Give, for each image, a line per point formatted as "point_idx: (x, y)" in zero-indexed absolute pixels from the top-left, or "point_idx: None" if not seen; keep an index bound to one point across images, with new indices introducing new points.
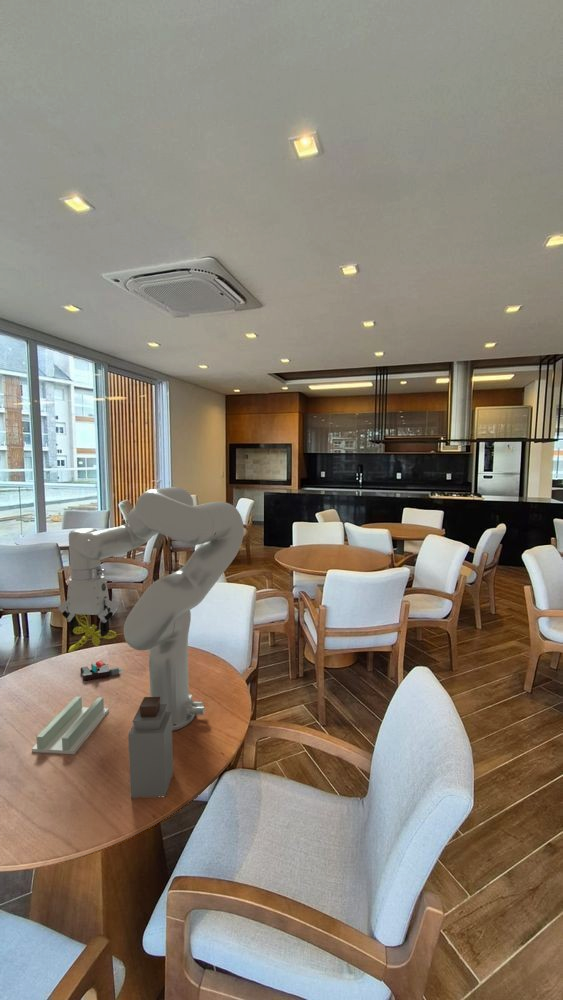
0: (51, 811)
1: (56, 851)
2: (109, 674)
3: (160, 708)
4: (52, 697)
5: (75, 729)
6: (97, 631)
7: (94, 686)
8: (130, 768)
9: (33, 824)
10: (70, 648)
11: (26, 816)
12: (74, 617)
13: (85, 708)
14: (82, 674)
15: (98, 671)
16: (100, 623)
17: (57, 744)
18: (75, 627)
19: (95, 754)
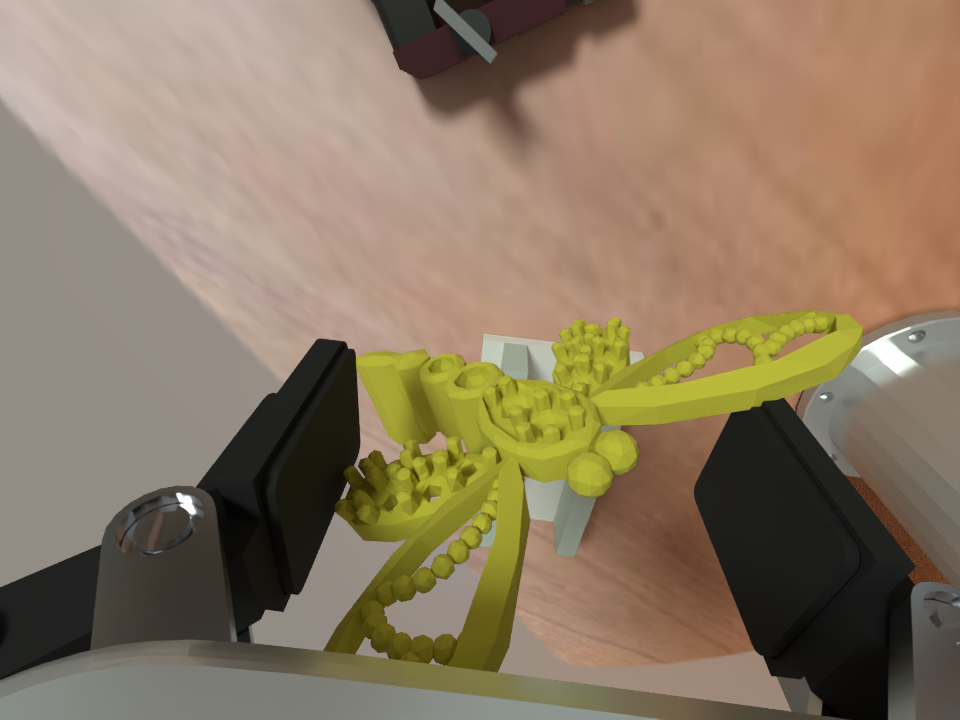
0: (595, 619)
1: (632, 662)
2: (568, 6)
3: None
4: (340, 240)
5: (583, 530)
6: (632, 420)
7: (507, 138)
8: (783, 689)
9: (573, 632)
10: (392, 428)
11: (552, 621)
12: (230, 585)
13: (545, 354)
14: (397, 60)
15: (492, 13)
16: (767, 666)
17: (527, 503)
18: (330, 467)
19: (644, 520)
